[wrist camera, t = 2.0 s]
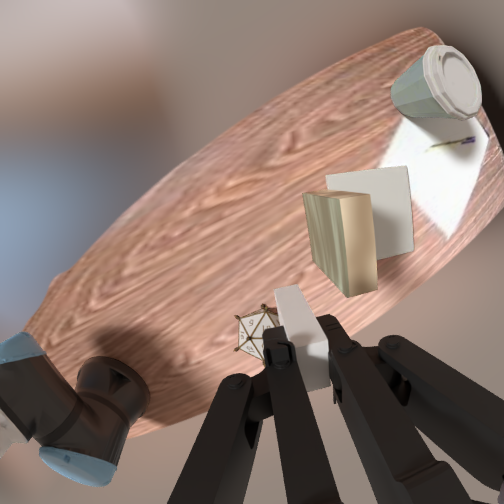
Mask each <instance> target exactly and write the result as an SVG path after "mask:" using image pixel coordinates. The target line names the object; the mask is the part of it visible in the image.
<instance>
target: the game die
mask: <svg viewBox="0 0 504 504" xmlns="http://www.w3.org/2000/svg"><path fill="white" fill-rule="evenodd" d="M261 308H262V309H260V310H258V311H255V312H253V313H251V314H248V315H246V316H243V317H241V318H240V317H239V316H238V315H234V316H235V318H236V319H239V344H238V347H236V348H235V349H234V351H238V350H239V349H240V350H242V351H244V352H246V353H248V354H250V355H252V356H254V357H256V358H258V359H260V360H262V361H263V365H264V367H265V366H266V364H265V360H264V355H263V348H264V345H263V339H262V334H263V332H264V330H265V329H268V328H273V327H278V326H280V322H279V316H278V314H276V313H273V312H271V311H268V307H267V306H266V307H264V305H263V304H262V305H261Z"/></svg>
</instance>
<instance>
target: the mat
mask: <svg viewBox="0 0 504 504" xmlns="http://www.w3.org/2000/svg"><path fill="white" fill-rule="evenodd" d="M325 177H326V183H327V189H328V190H338V191H348V192H357V193H365V194H370V197H371V205H372V213H373V223H374V233H375V246H376V260H380V259H384V258H388V257H392V256H396V255H400V254H404V253H408V252H411V251H414V243H413V223H412V210H411V199H410V190H409V181H408V174H407V167H406V166H397V167H387V168H378V169H370V170H361V171H353V172H346V173H338V174H331V175H325Z"/></svg>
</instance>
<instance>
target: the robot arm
mask: <svg viewBox="0 0 504 504" xmlns="http://www.w3.org/2000/svg"><path fill="white" fill-rule="evenodd" d="M274 294H275V300H276V305H277V311H278V316H279V322H280V326H278V327H273V328H268V329H265V330H264V332H263V334H262V339H263V345H264V348H263V355H264V360H265V364H266V366H265V368H264V370H263V371H262V372H260V373H259V374H257V375H255V376H253V377H249V376H248V375H246V374H241V373H237V374H232V375H229V376H227V377H226V378H224V379H223V380H222V382H221V383H220V385H219V388H218V390H217V392H216V395H215V397H214V399H213V402H212V404H211V406H210V409H209V411H208V413H207V416H206V418H205V420H204V423H203V425H202V427H201V429H200V432H199V434H198V436H197V438H196V441H195V443H194V445H193V447H192V450H191V452H190V454H189V457H188V459H187V461H186V463H185V465H184V468H183V470H182V472H181V474H180V477H179V478H178V481H177V483H176V485H175V487H174V489H173V492H172V494H171V496H170V498H169V500H168V502H167V504H243V501H244V497H245V494H246V490H247V486H248V482H249V478H250V474H251V470H252V466H253V462H254V458H255V454H256V450H257V446H258V442H259V437H260V433H261V428H262V424H263V419H266V418H268V417H270V416H273V415H274V420H275V427H276V433H277V439H278V446H279V452H280V459H281V465H282V471H283V477H284V484H285V490H286V496H287V502H288V504H344V503H343V502H341V499H340V497H339V493H338V490H337V487H336V484H335V480H334V477H333V474H332V471H331V467H330V464H329V461H328V458H327V455H326V451H325V448H324V445H323V441H322V439H321V435H320V432H319V429H318V425H317V422H316V419H315V416H314V413H313V410H312V407H311V403H310V401H309V397H308V394H307V392H310V391H314V390H318V389H322V388H325V387H329V386H331V384H330V379H331V381H332V384H333V401H334V404H336V400H337V403H338V405H339V407H340V410H341V412H342V415H343V417H344V420H345V422H346V425H347V427H348V429H349V432H350V434H351V437H352V439H353V441H354V444H355V447H356V449H357V452H358V454H359V457H360V459H361V462H362V464H363V467H364V469H365V472H366V474H367V477H368V479H369V482H370V484H371V487H372V490H373V492H374V495H375V497H376V500H377V502H378V504H489V503H484V502H480V501H474V500H471V499H470V497H469V495H468V494H467V492H466V490H465V489H464V487H463V485H462V484H461V482H460V480H459V479H458V477H457V475H456V474H455V472H454V470H453V469H452V467H451V466H450V465H449V464H448V463H447V462H445V461H437V460H436V459H435V458H434V457H433V455H432V453H431V452H430V450H429V448H428V447H427V445H426V444H425V442H424V441H423V439H422V437H421V435H420V434H419V433H418V431H417V429H416V428H415V426H416V427H417V428H418V429H419V430H420V431H421V432H423V433H424V434H425V435H426V436H427V437H428V438H429V439H430V440H432V441H433V442H434V443H435V444H436V445H437V446H438V447H440V448H441V449H442V450H443V451H444V452H445V453H447V454H448V455H449V456H450V457H451V458H452V459H453V460H455V461H456V462H457V463H458V464H459V465H460V466H462V467H463V468H464V469H465V470H466V471H467V472H469V473H470V474H471V475H472V476H473V477H474V478H476V479H477V480H478V481H480V482H481V483H482V484H484V485H485V486H487V487H489V488H491V489H493V490H497V491H500V494H499V496H498V503H499V504H504V400H502V399H501V398H499V397H498V396H496V395H494V394H493V393H491V392H490V391H488V390H487V389H485V388H483V387H482V386H480V385H479V384H477V383H476V382H474V381H472V380H471V379H469V378H467V377H466V376H465V375H463V374H461V373H460V372H458V371H457V370H455V369H453V368H452V367H450V366H448V365H447V364H445V363H444V362H442V361H441V360H439V359H437V358H436V357H434V356H433V355H431V354H429V353H428V352H426V351H425V350H423V349H421V348H420V347H418V346H417V345H415V344H413V343H412V342H410V341H409V340H407V339H405V338H404V337H401V336H399V335H390V336H386V337H384V338H382V339H381V340H380V342H379V344H378V346H374V347H362V346H361V345H360V344H359V343H358V342H357V341H354V340H351V339H350V338H349V336H348V335H347V333H346V332H345V330H344V329H343V327H342V326H341V324H340V323H339V321H338V320H337V319H336V317H334V316H332V315H330V314H327V315H323V316H319V317H315V315H314V313H313V312H312V310H311V308H310V306H309V304H308V303H307V301H306V299H305V297H304V295H303V294H302V292H301V290H300V288H299V286H298V285H297V284H296V285H291V286H286V287H281V288H277V289H274ZM149 401H150V394H149V390H148V388H147V386H146V384H145V382H144V381H143V380H142V378H141V377H140V376H139V375H138V374H137V373H136V372H135V371H134V370H132V369H131V368H130V367H128V366H127V365H125V364H123V363H122V362H119V361H117V360H115V359H112V358H108V357H101V356H97V357H92V358H90V359H88V360H86V361H85V362H84V364H83V365H82V367H81V368H80V370H79V372H78V376H77V384H76V387H75V390H74V389H73V388H72V387H71V386H70V385H69V383H68V382H67V381H66V380H65V379H64V377H63V376H62V375H61V374H60V372H59V371H58V370H57V368H56V367H55V366H54V364H53V363H52V362H51V360H50V359H49V357H48V356H47V353H46V352H45V351H43V349H42V348H41V347H40V346H39V344H38V343H37V341H36V340H35V339H34V337H33V336H32V335H31V334H29V333H28V332H20V333H18V334H16V335H14V336H12V337H11V338H9V339H7V340H5V341H4V342H2V343H0V459H1V457H2V456H3V455H4V453H5V452H6V451H7V450H8V448H9V447H10V446H11V444H12V443H15V442H17V443H28V441H29V440H30V439H31V438H32V437H33V438H34V439H35V440H36V441H37V442H39V443H40V445H41V446H42V447H40V449H39V455H40V457H41V459H42V460H43V461H44V462H45V463H46V464H47V465H48V466H49V467H50V468H52V469H53V470H55V471H56V472H58V473H60V474H61V475H63V476H65V477H67V478H69V479H71V480H74V481H76V482H79V483H82V484H85V485H89V486H94V487H102V486H106V485H108V484H109V483H110V482H111V480H112V477H113V475H114V473H115V471H116V470H117V465H118V462H119V459H120V455H121V452H122V449H123V446H124V443H125V440H126V438H127V435H128V432H129V429H130V427H131V426H132V425H133V424H134V423H135V422H136V421H137V419H138V418H140V417H141V416H142V415H143V414H144V413H145V411H146V409H147V407H148V404H149ZM414 425H415V426H414Z"/></svg>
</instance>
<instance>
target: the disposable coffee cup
mask: <svg viewBox="0 0 504 504" xmlns="http://www.w3.org/2000/svg"><path fill="white" fill-rule="evenodd" d="M391 99H392V102H393V104H394V106H395V107H396V108H397V109H398V110H399V111H400V112H401V113H402V114H404V115H407V116H410V117H431V118H457V119H459V120H461V121H463V120H466V119H469V118H472V117H474V116H476V115H477V113H478V111H479V108H480V106H481V102H482V96H481V86H480V83H479V80H478V78H477V75H476V73H475V70H474V68H473V67H472V66H471V64H470V63H469V62H468V60H467V59H466V57H465V56H464V55H463V54H462V53H460V52H458V51H457V50H456V49H455V48H453V47H452V46H446V45H442V46H432V47H429V48H428V49H427V51H426V52H425V54H424V55H423V56H422V57H421V58H420V59H419V60H418V61H417V62H415V63H414V64H413V65H412V66H411V67H410V68H409V69H408V70H407V71H406V72H404V73H403V74H402V75H401V76H400V77H399V78H398V79H397V80H396V81H395V82H394V84H393V85H392V87H391Z"/></svg>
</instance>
